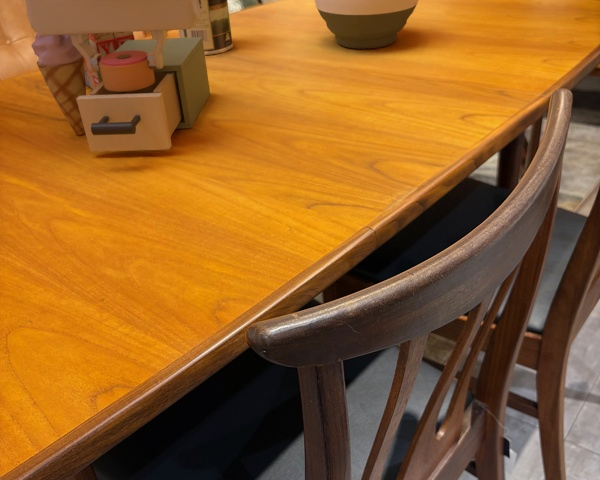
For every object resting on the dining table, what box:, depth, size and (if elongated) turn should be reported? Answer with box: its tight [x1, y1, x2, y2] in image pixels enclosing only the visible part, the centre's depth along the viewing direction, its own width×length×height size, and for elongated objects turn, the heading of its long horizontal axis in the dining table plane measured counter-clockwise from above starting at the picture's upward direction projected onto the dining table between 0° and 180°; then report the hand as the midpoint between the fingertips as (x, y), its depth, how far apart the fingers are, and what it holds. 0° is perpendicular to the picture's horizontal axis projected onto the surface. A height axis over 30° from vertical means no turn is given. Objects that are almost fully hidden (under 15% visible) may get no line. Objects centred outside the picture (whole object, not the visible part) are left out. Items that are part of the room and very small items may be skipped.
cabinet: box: [96, 37, 211, 130], centre depth 89 cm, size 15×12×9 cm
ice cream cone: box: [31, 32, 87, 136], centre depth 82 cm, size 7×6×15 cm
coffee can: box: [177, 0, 234, 56], centre depth 116 cm, size 10×10×14 cm
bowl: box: [314, 0, 419, 50], centre depth 114 cm, size 20×20×10 cm
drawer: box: [76, 71, 183, 152], centre depth 79 cm, size 18×10×7 cm, turn 176°
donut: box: [99, 50, 155, 92], centre depth 77 cm, size 6×6×3 cm
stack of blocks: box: [84, 32, 136, 90], centre depth 101 cm, size 21×6×12 cm, turn 34°
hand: (127, 69), depth 77 cm, fingers closed on donut, 6 cm apart
